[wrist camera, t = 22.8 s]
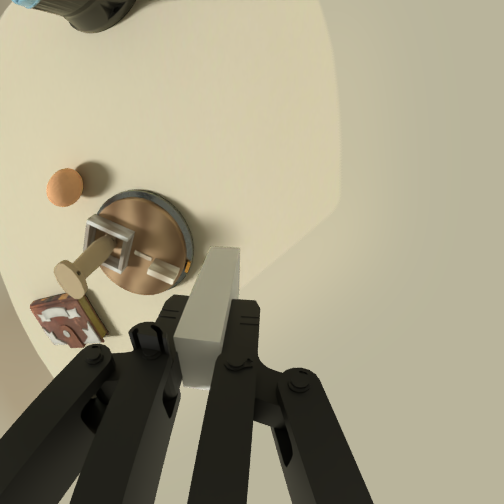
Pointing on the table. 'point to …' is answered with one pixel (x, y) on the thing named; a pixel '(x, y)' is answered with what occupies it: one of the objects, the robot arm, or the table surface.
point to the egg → (65, 187)
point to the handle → (84, 266)
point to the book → (69, 320)
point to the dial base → (171, 211)
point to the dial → (139, 245)
